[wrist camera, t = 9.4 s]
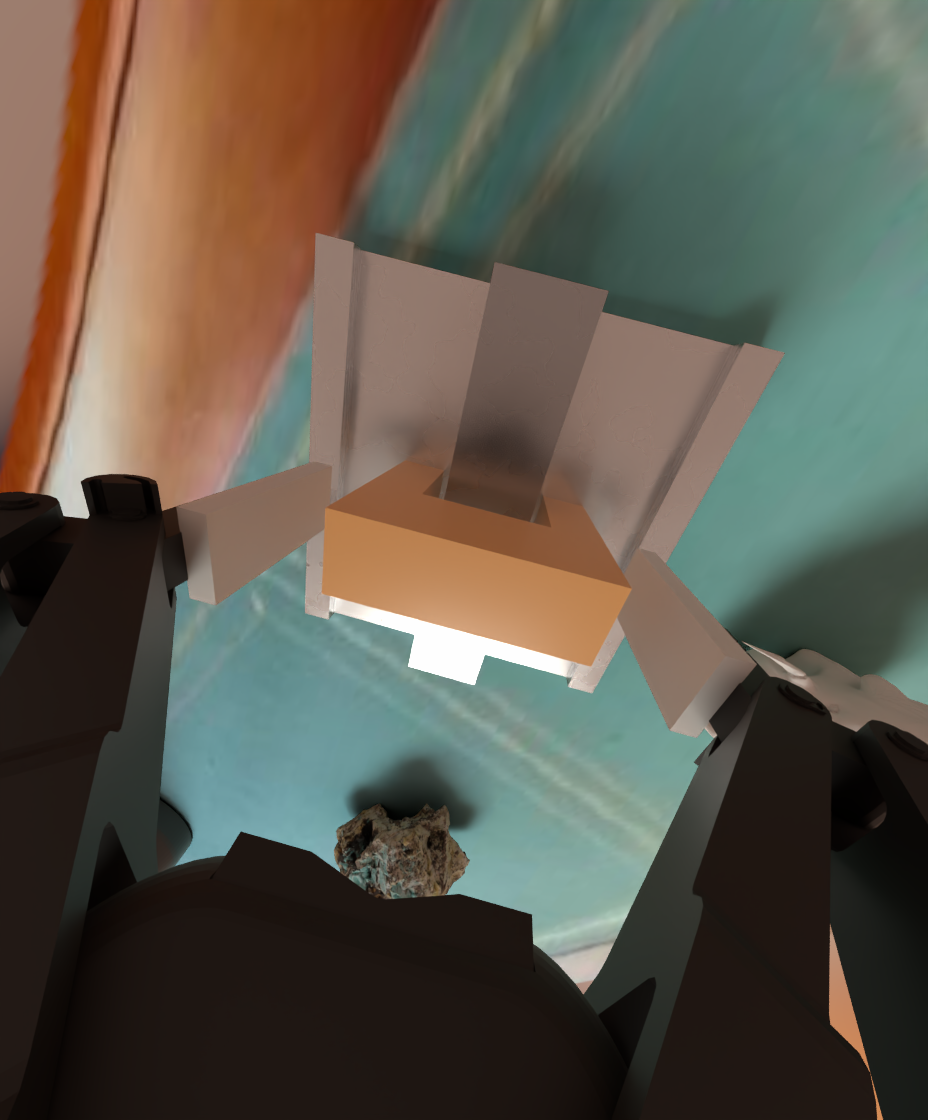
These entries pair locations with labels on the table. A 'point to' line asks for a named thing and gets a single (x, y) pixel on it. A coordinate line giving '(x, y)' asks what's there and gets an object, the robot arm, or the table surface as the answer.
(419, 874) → the mineral specimen
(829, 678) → the elephant figurine
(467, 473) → the rail
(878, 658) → the table surface
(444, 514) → the clip
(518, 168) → the table surface
